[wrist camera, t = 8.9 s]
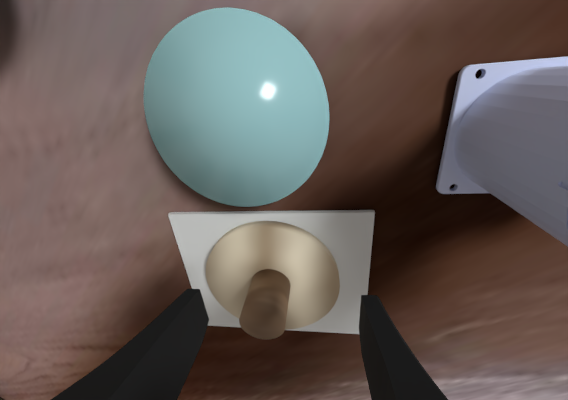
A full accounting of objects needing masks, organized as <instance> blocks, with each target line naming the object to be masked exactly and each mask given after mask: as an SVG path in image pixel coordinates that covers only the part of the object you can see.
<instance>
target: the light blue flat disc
mask: <svg viewBox="0 0 568 400" xmlns="http://www.w3.org/2000/svg"><path fill="white" fill-rule="evenodd" d="M144 109H145V117H146V121H147V125H148V129H149V132H150V134H151V137H152V140H153V142H154V144H155V146H156V148H157V150H158V152H159V154H160V155H161V157H162V158H163V160H164V162H165V163H166V164H167V165H168V167H169V168H170V169H171V170H172V172H173V173H174V174H175V175H176V176H177V177H178V178H179V179H180V180H181V181H183V182H184V183H185V184H186V185H187V186H188V187H190V188H191V189H193V190H194V191H196V192H197V193H199V194H201V195H203V196H205V197H207V198H209V199H211V200H214V201H216V202H220V203H223V204H227V205H232V206H242V207H251V206H260V205H265V204H269V203H272V202H275V201H278V200H280V199H282V198H284V197H286V196H288V195H289V194H291V193H292V192H294V191H295V190H297V189H298V188H299V187H300V186H301V185H302V184H303V183H304V182H305V181H306V180H307V179H308V178H309V177H310V175H311V174H312V173H313V171H314V170H315V168H316V167H317V165H318V163H319V161H320V159H321V157H322V154H323V151H324V148H325V145H326V142H327V137H328V131H329V104H328V98H327V93H326V89H325V86H324V83H323V80H322V77H321V75H320V72H319V70H318V68H317V66H316V64H315V62H314V61H313V59H312V58H311V56H310V55H309V53H308V51H307V50H306V49H305V48H304V46H303V45H302V44H301V43H300V42H299V41H298V39H297V38H296V37H294V36H293V35H292V34H291V33H290V32H289V31H288V30H286V29H285V28H284V27H282V26H281V25H279V24H278V23H276V22H275V21H273V20H272V19H269V18H267V17H265V16H263V15H261V14H259V13H255V12H252V11H248V10H245V9H237V8H215V9H210V10H206V11H202V12H199V13H197V14H194V15H192V16H189V17H188V18H186V19H185V20H183V21H181V22H180V23H178V24H177V25H176V26H175V27H174V28H173V29H171V30H170V31H169V32H168V33H167V34H166V36H165V37H164V38H163V39H162V41H161V42H160V43H159V45H158V47H157V48H156V50H155V52H154V53H153V56H152V58H151V61H150V63H149V66H148V69H147V73H146V77H145V85H144Z"/></svg>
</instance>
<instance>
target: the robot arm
mask: <svg viewBox="0 0 568 400" xmlns="http://www.w3.org/2000/svg"><path fill="white" fill-rule="evenodd" d="M479 69H480V70H481V71H482V74H481V76H480V77H479V78H476V77H475V74H476V72H477V71H478V70H479ZM452 184H455V186H454V187H453V188H452V189H449V187H450V186H451V185H452ZM436 189H437V191H438V192H439V193H441V194H472V193H491V194H492V195H493V196H495V197H496V198H498V199H499V200H501V201H502V202H504V203H505V204H507V205H508V206H509V207H511V208H512V209H514V210H515V211H517V212H518V213H520V214H521V215H523V216H524V217H526V218H527V219H528V220H530V221H531V222H533V223H534V224H536V225H537V226H539V227H540V228H542V229H543V230H544V231H546V232H547V233H549V234H550V235H552V236H553V237H555V238H556V239H558V240H559V241H561V242H562V243H563V244H565V245H566V246H568V56H567V57H556V58H544V59H533V60H521V61H510V62H498V63H487V64H475V65H468V66H465V67H464V68H462V69H461V71H460V72H459V75H458V79H457V84H456V89H455V94H454V98H453V103H452V108H451V113H450V118H449V123H448V128H447V133H446V138H445V143H444V148H443V153H442V158H441V163H440V168H439V173H438V178H437V183H436ZM208 322H209V317H208V314H207V311H206V308H205V304H204V301H203V298H202V295H201V291H200V289H187V290H186V291H185V292H183V293H182V294H181V295H180V296H179V297H178V298H177V299H176V300H175V301H174V302H173V303H172V304H171V305H170V306H168V307H167V308H166V309H165V310H164V311H163V312H162V313H161V314H160V315H159V316H158V317H157V318H156V319H154V320H153V321H152V322H151V323H150V324H149V325H148V326H147V327H146V328H145V329H143V330H142V331H141V332H140V333H139V334H138V335H136V336H135V337H134V338H133V339H132V340H131V341H129V342H128V343H127V344H126V345H125V346H124V347H122V348H121V349H120V350H119V351H118V352H116V353H115V354H114V355H113V356H111V357H110V358H109V359H108V360H106V361H105V362H104V363H102V364H101V365H100V366H98V367H97V368H96V369H94V370H93V371H92V372H90V373H89V374H88V375H86V376H85V377H83V378H82V379H80V380H79V381H77V382H76V383H75V384H73V385H72V386H70V387H69V388H67V389H66V390H64V391H63V392H61V393H60V394H59V395H57V396H56V397H54V398H53V399H51V400H177V398H178V396H179V394H180V392H181V389H182V387H183V385H184V383H185V381H186V378H187V376H188V374H189V372H190V369H191V367H192V365H193V363H194V360H195V358H196V356H197V353H198V351H199V349H200V347H201V344H202V341H203V338H204V335H205V332H206V329H207V326H208ZM359 334H360V343H361V351H362V357H363V361H364V366H365V371H366V375H367V380H368V384H369V389H370V393H371V398H372V400H448V399H447V398H446V396H445V395H444V394H443V393H442V392H441V390H440V389H439V388H438V386H437V385H436V384H435V383H434V381H433V380H432V379H431V377H430V376H429V375H428V374H427V372H426V371H425V369H424V368H423V367H422V365H421V364H420V363H419V361H418V360H417V358H416V357H415V356H414V354H413V353H412V351H411V350H410V348H409V347H408V345H407V344H406V342H405V341H404V339H403V338H402V336H401V335H400V333H399V332H398V330H397V329H396V327H395V325H394V324H393V322H392V320H391V319H390V317H389V315H388V314H387V312H386V310H385V308H384V307H383V305H382V303H381V301H380V299H379V297H378V296H376V295H361V305H360V318H359Z"/></svg>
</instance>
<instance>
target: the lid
mask: <svg viewBox="0 0 568 400" xmlns="http://www.w3.org/2000/svg"><path fill="white" fill-rule="evenodd" d="M206 279H207V283H208V286H209V289H210V291H211V292H212V294H213V296H214V297H215V299H216V300H217V301H218V302H219V303H220V305H221V306H222V307H223V308H225V309H226V310H227V311H228V312H230V313H231V314H232V315H234V316H235V317H237V318H239V323H240V326H241V328H242V329H243V330H244V331H245V332H246V333H247V334H249V335H251V336H253V337H255V338H259V339H267V340H268V339H274V338H277V337H279V336H281V335H282V334H283V332H284V330H287V329H296V328H301V327H304V326H308V325H310V324H313V323H315V322H317V321H318V320H320V319H321V318H323V317H324V316H325V315H327V314H328V313H329V312H330V310H331V309H332V308H333V306H334V305H335V303H336V301H337V299H338V295H339V290H340V280H339V271H338V267H337V264H336V261H335V259H334V257H333V255H332V254H331V252H330V251H329V249H328V248H327V247H326V246H325V245H324V244H323V243H322V242H321V241H320V240H319V239H318V238H316V237H315V236H314V235H312V234H311V233H309V232H307V231H305V230H304V229H301V228H299V227H297V226H294V225H291V224H287V223H283V222H277V221H255V222H250V223H246V224H243V225H239V226H237V227H235V228H233V229H231V230H230V231H228V232H227V233H225V234H224V235H223V236H222V237H221V238H220V239H219V240H218V242H217V243H216V244H215V246H214V248H213V249H212V251H211V253H210V255H209V257H208V260H207V263H206Z"/></svg>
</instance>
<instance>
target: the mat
mask: <svg viewBox="0 0 568 400" xmlns="http://www.w3.org/2000/svg"><path fill="white" fill-rule="evenodd" d="M168 216H169V219H170V222H171V225H172V229H173V232H174V235H175V238H176V241H177V244H178V247H179V250H180V253H181V256H182V259H183V262H184V266H185V269H186V272H187V275H188V278H189V281H190V284H191V287H192V289H200V291H201V295H202V298H203V301H204V304H205V308H206V311H207V314H208V317H209V322H208V326H225V327H241V326H240V323H239V318H237V317H235V316H234V315H232V314H231V313H230V312H228V311H227V310H226V309H225V308H223V307H222V306H221V305H220V303H219V302H218V301H217V300H216V299H215V297H214V296H213V294H212V292H211V291H210V289H209V286H208V283H207V279H206V263H207V260H208V257H209V255H210V253H211V251H212V249H213V248H214V246H215V244H216V243H217V242H218V240H219V239H220V238H221V237H222V236H223V235H224V234H225V233H227V232H228V231H230V230H231V229H233V228H235V227H237V226H239V225H243V224H246V223H250V222H255V221H277V222H283V223H287V224H291V225H294V226H297V227H299V228H301V229H304V230H305V231H307V232H309V233H311V234H312V235H314V236H315V237H316V238H318V239H319V240H320V241H321V242H322V243H323V244H324V245H325V246H326V247H327V248H328V249H329V251H330V252H331V254H332V255H333V257H334V259H335V261H336V264H337V267H338V271H339V280H340V290H339V295H338V299H337V301H336V303H335V305H334V306H333V308H332V309H331V310H330V312H329V313H328V314H327V315H325V316H324V317H323V318H321V319H320V320H318V321H317V322H315V323H313V324H310V325H308V326H304V327H301V328H296V329H287V330H295V331H313V332H330V333H347V334H359V318H360V305H361V295H367V294H368V283H369V272H370V261H371V250H372V239H373V228H374V217H375V211H374V210H320V211H234V212H170V213H169V214H168Z"/></svg>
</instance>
